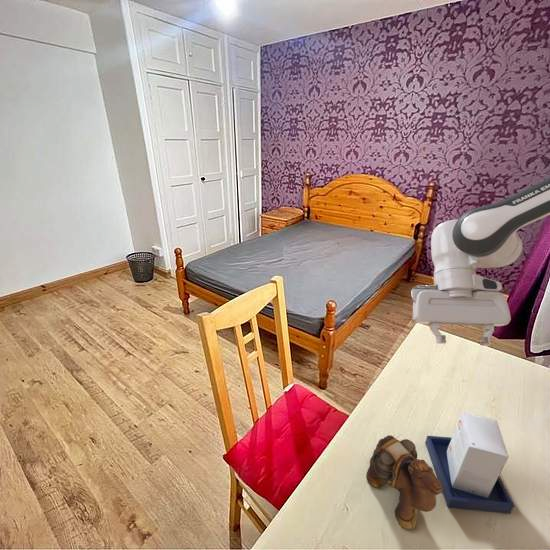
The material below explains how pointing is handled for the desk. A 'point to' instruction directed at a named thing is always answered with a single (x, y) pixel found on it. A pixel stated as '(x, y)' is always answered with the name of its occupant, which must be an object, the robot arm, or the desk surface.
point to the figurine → (404, 478)
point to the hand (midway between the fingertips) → (463, 344)
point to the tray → (459, 498)
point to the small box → (476, 454)
